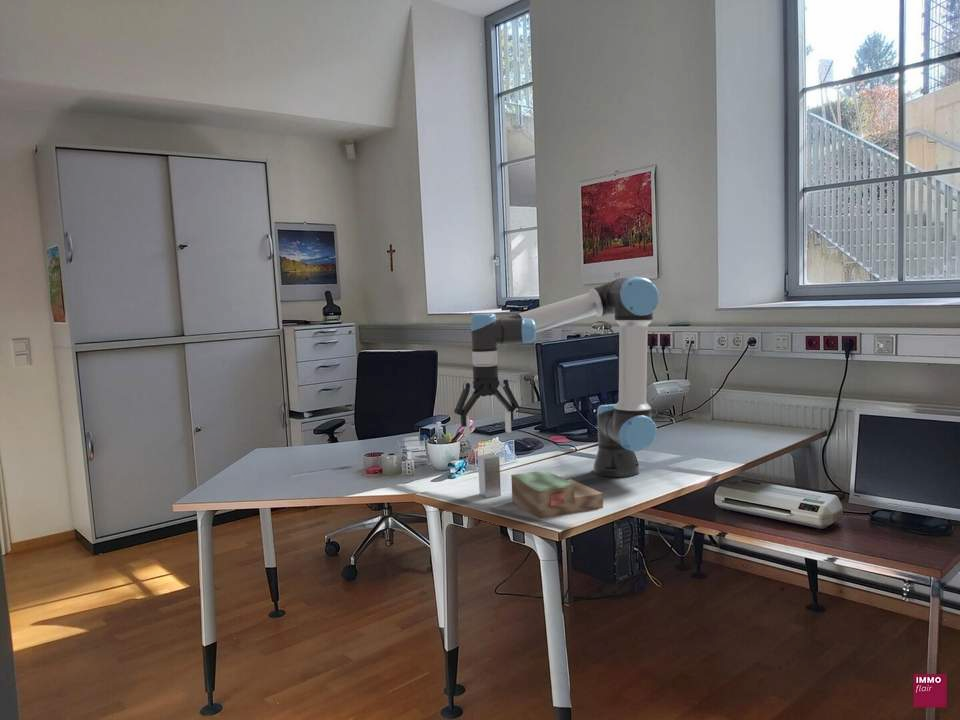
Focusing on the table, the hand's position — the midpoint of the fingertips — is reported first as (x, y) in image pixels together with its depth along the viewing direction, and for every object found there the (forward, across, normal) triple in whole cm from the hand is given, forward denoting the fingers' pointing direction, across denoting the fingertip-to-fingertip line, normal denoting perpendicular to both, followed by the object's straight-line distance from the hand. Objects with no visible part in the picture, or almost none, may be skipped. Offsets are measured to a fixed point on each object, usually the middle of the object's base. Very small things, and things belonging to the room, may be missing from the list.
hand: (488, 434), depth 221 cm
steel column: (+19, 0, 0) cm, 19 cm away
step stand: (+19, -13, +19) cm, 29 cm away
